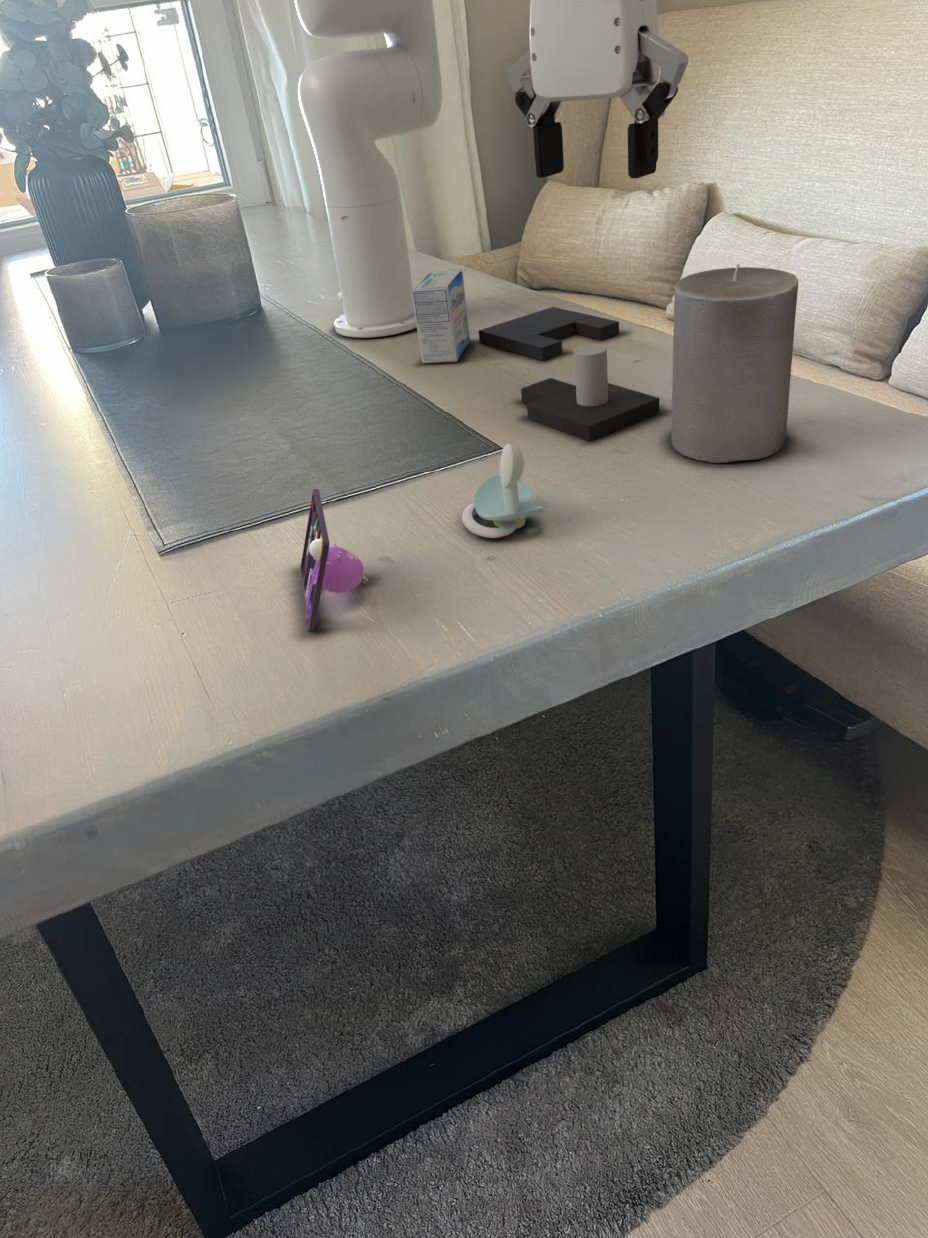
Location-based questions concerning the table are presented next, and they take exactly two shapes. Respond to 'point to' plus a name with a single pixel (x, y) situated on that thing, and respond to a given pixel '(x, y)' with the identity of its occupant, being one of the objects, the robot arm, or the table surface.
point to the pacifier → (502, 499)
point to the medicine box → (441, 317)
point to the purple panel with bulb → (325, 563)
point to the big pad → (546, 332)
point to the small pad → (586, 418)
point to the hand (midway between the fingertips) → (594, 174)
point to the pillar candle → (732, 362)
